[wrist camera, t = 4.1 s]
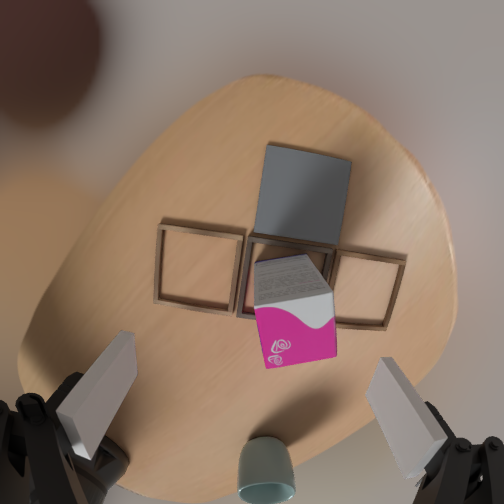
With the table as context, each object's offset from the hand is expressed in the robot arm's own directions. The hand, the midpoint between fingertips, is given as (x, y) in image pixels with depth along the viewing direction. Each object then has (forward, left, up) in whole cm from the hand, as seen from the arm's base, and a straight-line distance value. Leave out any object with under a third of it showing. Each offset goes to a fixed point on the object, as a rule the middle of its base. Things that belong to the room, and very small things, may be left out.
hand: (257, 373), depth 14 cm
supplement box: (+3, 0, -18) cm, 18 cm away
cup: (+6, -27, -18) cm, 33 cm away
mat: (+4, +9, -17) cm, 20 cm away
